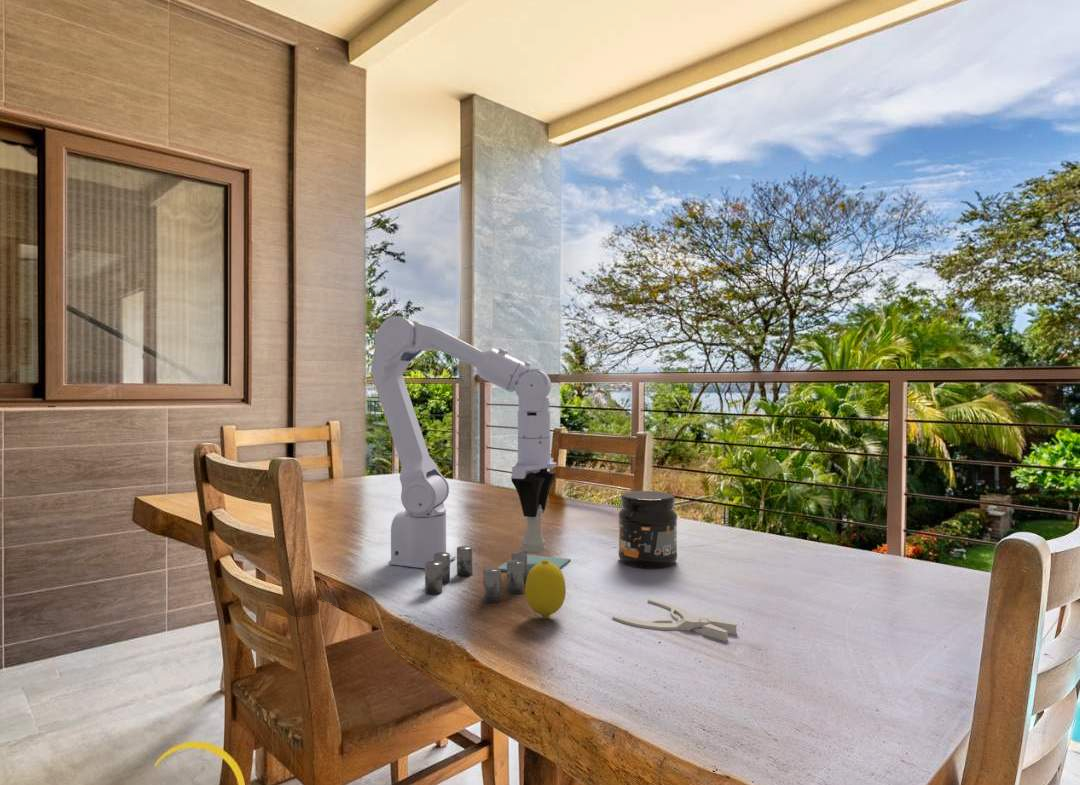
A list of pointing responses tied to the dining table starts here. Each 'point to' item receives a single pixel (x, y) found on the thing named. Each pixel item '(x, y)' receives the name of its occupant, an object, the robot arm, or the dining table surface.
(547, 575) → the lemon
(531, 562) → the mat
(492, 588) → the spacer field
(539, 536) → the rook chess piece
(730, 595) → the dining table surface
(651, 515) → the supplement container
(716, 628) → the pliers
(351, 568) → the dining table surface
